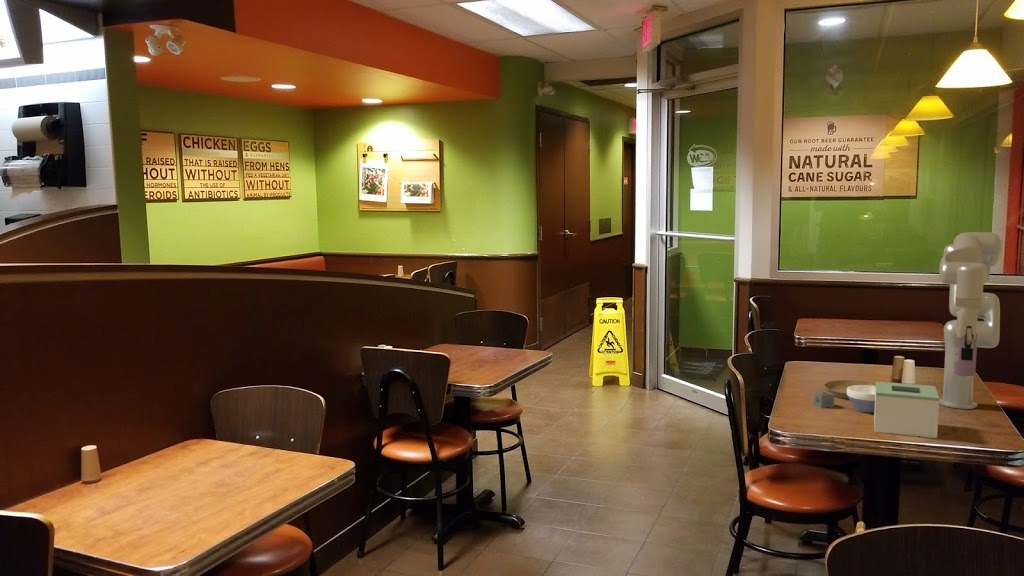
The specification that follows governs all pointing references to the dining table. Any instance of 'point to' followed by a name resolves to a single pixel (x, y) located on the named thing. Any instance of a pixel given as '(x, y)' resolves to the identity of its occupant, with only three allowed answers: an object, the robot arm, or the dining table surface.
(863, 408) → the bowl
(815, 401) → the dice cube
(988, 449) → the dining table surface
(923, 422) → the recycling bin
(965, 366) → the beverage can
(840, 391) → the plant saucer
